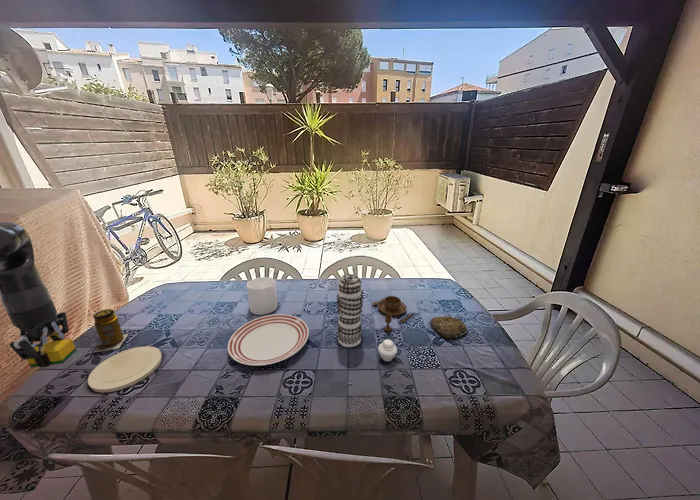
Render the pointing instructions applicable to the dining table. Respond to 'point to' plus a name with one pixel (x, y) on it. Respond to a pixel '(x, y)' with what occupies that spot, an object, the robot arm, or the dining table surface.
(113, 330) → the condiment
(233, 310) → the dining table surface
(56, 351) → the sponge
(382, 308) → the place setting
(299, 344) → the dinner plate
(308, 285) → the dining table surface
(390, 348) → the white lidded jar
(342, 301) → the decorative candle
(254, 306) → the cup
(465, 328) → the mossy brown rock
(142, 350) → the side plate
